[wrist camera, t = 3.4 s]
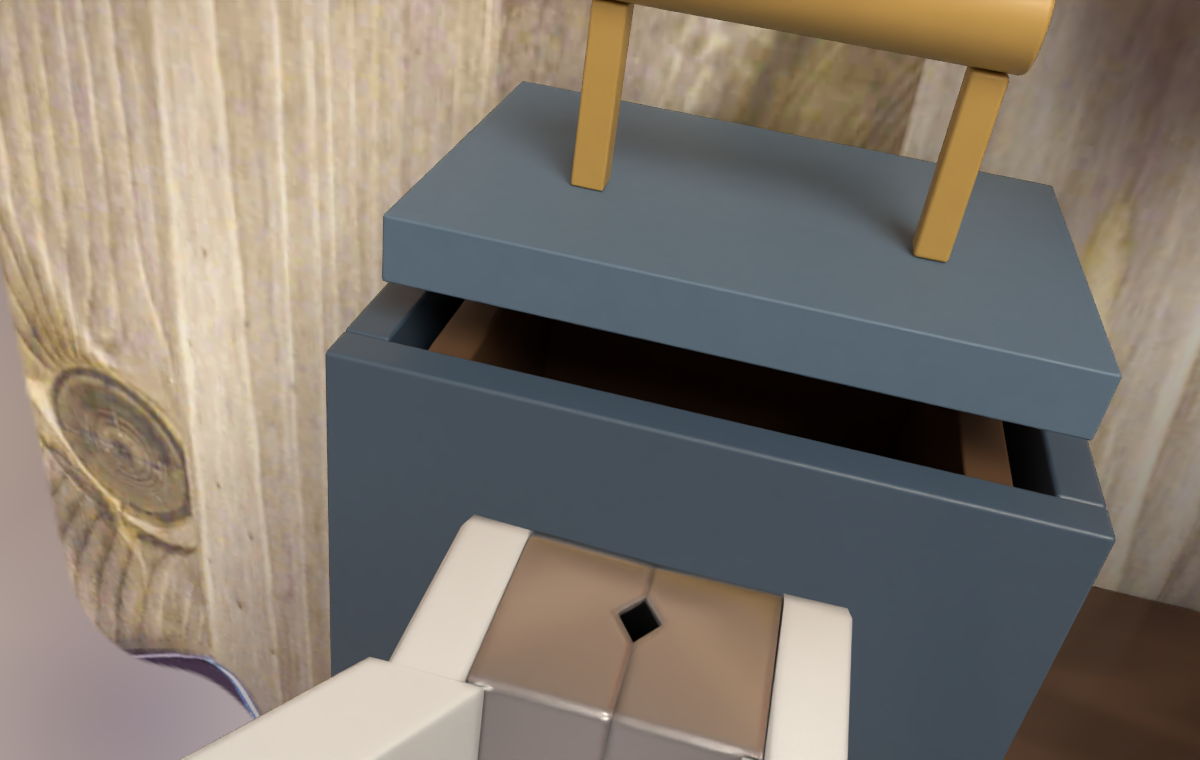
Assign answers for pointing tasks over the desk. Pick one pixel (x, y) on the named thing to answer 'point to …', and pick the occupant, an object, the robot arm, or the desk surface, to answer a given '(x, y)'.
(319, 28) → the desk surface
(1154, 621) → the stand
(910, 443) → the drawer
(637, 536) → the cabinet
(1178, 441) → the desk surface
